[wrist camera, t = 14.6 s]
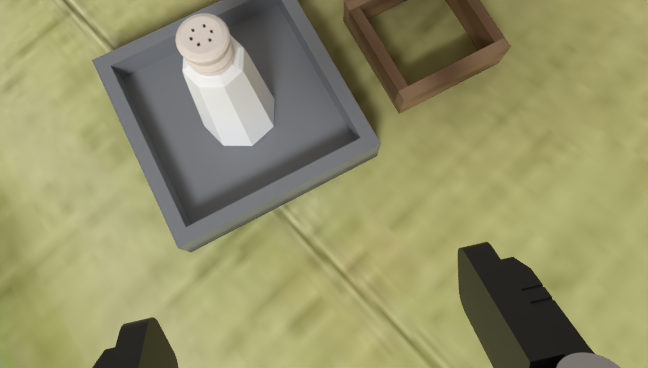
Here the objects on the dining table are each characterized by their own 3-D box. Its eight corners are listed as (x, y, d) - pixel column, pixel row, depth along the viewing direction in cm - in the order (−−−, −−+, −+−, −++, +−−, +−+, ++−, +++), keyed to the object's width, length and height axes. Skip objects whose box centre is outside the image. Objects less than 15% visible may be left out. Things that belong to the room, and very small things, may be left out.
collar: (439, -26, 39) (446, -48, 37) (498, 62, 37) (510, 46, 35) (343, 20, 38) (344, 1, 36) (399, 113, 36) (404, 100, 34)
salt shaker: (261, 69, 36) (233, -27, 26) (288, 132, 35) (269, 61, 24) (193, 94, 36) (134, 9, 25) (217, 160, 35) (167, 99, 24)
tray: (284, -4, 39) (281, -28, 36) (376, 155, 36) (380, 143, 33) (110, 78, 37) (92, 60, 34) (190, 252, 34) (178, 248, 31)
